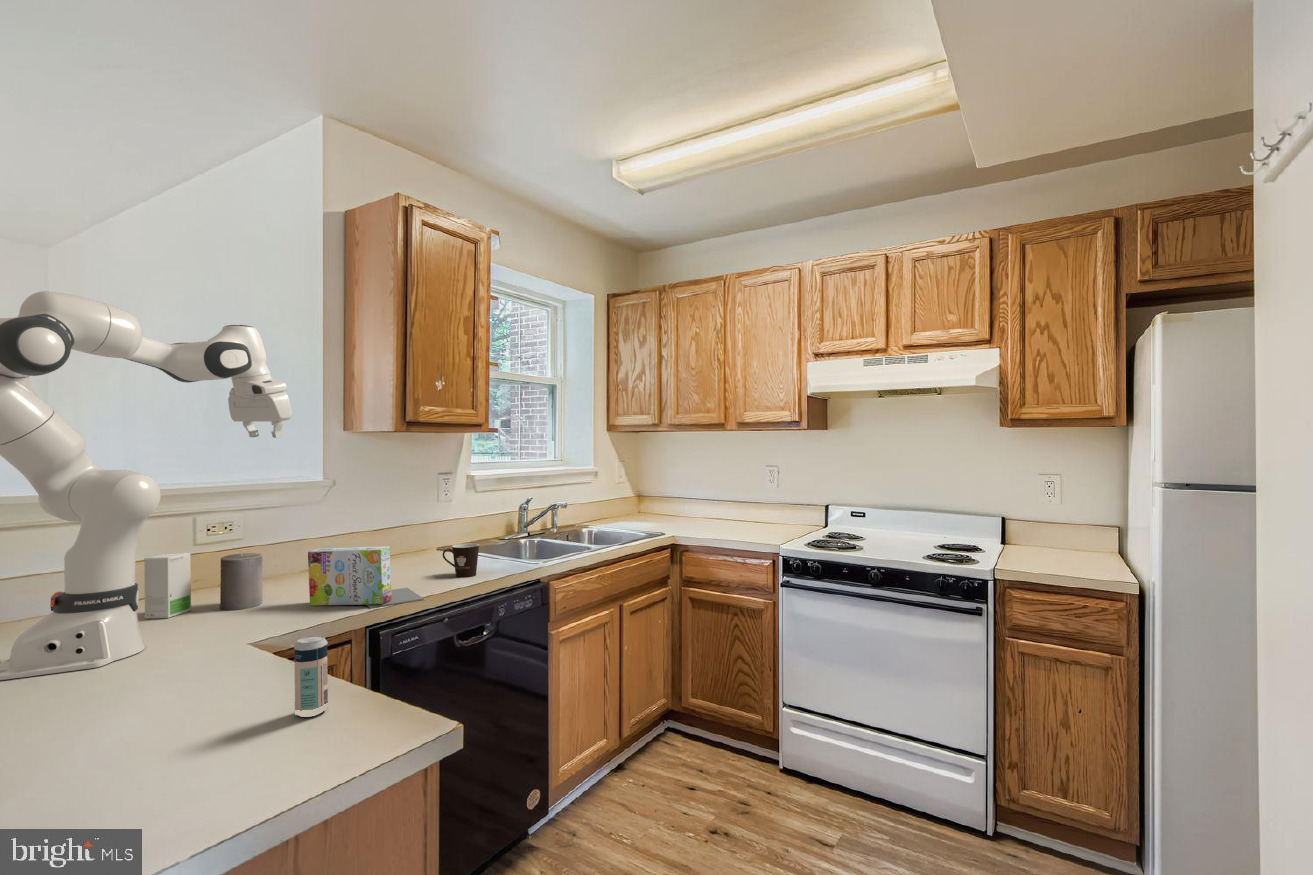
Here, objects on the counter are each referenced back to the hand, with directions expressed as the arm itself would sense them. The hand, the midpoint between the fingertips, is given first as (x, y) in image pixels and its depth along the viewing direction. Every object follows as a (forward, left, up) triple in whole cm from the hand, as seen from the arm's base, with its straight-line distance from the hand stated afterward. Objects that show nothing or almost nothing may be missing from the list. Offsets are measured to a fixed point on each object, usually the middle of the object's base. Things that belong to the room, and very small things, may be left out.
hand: (265, 437), depth 165 cm
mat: (+29, -10, -46) cm, 55 cm away
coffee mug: (+56, +7, -46) cm, 73 cm away
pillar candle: (-5, +8, -46) cm, 47 cm away
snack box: (+19, -10, -46) cm, 51 cm away
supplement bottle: (0, -82, -46) cm, 94 cm away
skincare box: (-21, +10, -46) cm, 52 cm away
